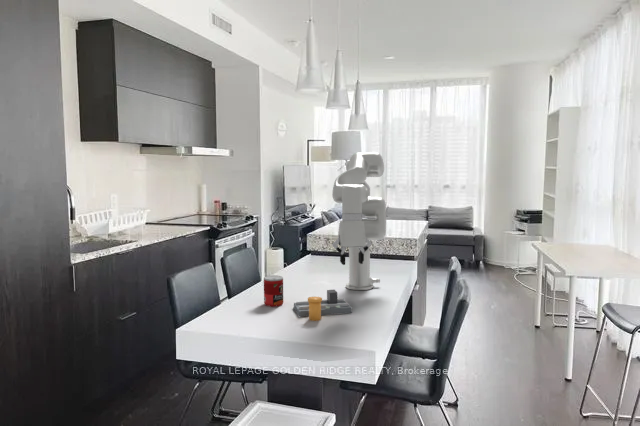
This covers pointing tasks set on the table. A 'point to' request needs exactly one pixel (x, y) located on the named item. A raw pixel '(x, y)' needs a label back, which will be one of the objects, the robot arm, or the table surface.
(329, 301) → the knob
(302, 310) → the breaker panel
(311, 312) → the orange pill bottle
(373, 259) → the table surface
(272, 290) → the canned food
